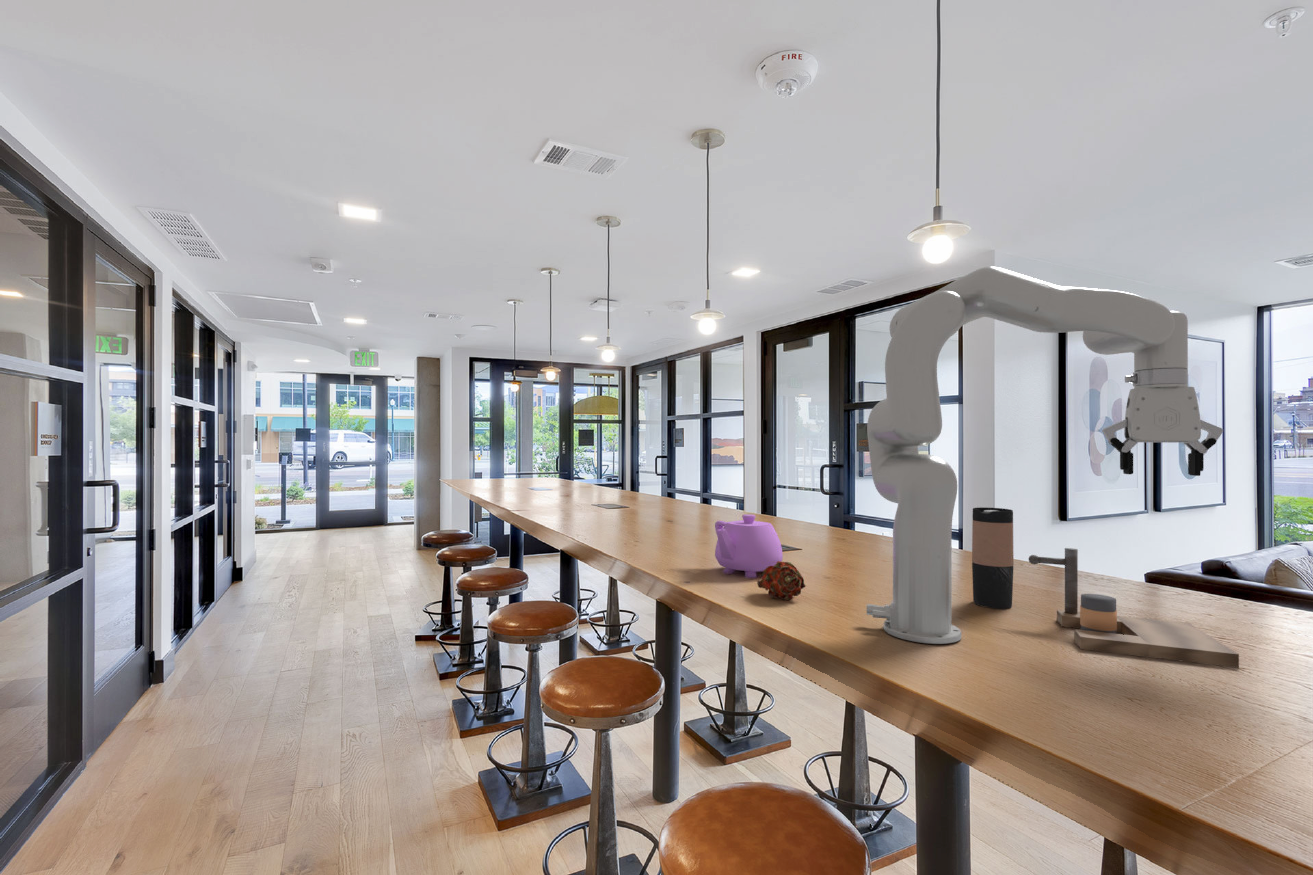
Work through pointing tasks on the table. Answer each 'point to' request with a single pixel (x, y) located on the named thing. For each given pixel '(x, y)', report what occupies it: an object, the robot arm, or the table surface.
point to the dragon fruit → (782, 580)
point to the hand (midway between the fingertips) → (1160, 474)
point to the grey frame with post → (1138, 629)
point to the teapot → (747, 546)
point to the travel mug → (992, 557)
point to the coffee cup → (1098, 613)
